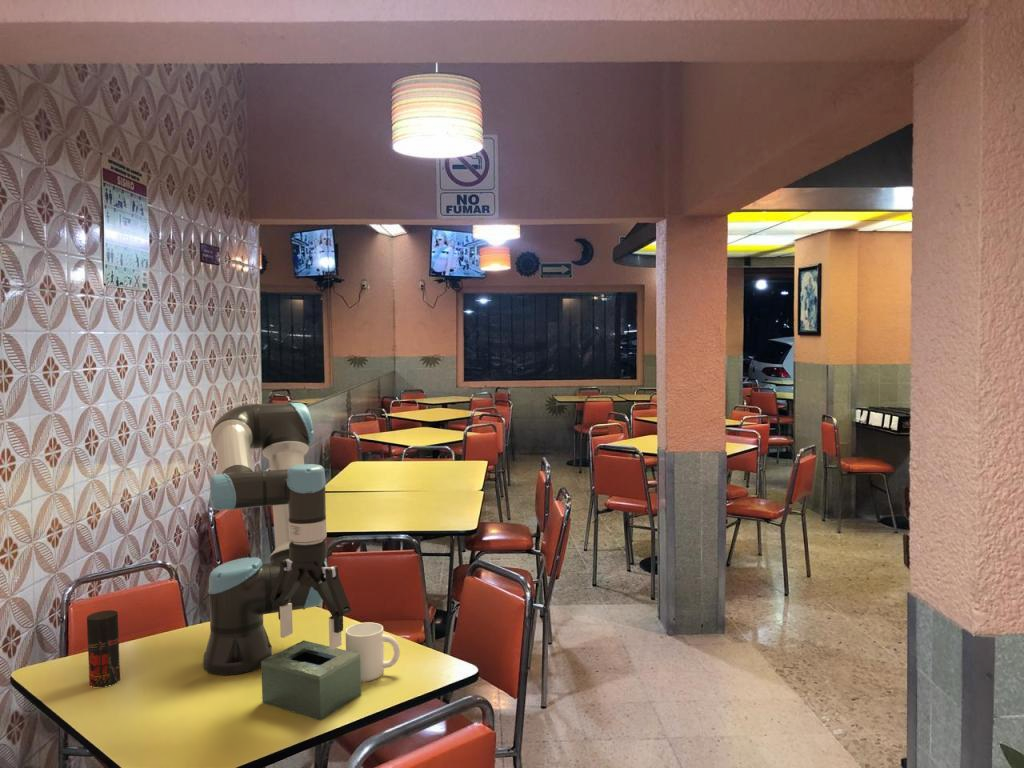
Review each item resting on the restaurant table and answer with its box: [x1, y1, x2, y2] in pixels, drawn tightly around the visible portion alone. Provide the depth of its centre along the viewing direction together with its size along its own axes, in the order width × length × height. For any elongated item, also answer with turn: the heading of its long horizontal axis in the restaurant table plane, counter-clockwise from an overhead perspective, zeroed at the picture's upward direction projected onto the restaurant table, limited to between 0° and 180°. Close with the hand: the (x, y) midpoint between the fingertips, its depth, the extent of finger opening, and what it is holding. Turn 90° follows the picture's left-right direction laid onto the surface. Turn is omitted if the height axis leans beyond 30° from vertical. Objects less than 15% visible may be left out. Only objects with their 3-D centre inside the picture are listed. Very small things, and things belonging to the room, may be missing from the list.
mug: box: [345, 621, 401, 683], centre depth 164 cm, size 12×8×10 cm
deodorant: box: [86, 609, 121, 688], centre depth 162 cm, size 6×6×15 cm
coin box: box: [260, 640, 362, 721], centre depth 153 cm, size 16×12×9 cm
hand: (310, 641), depth 153 cm, fingers open, 13 cm apart
